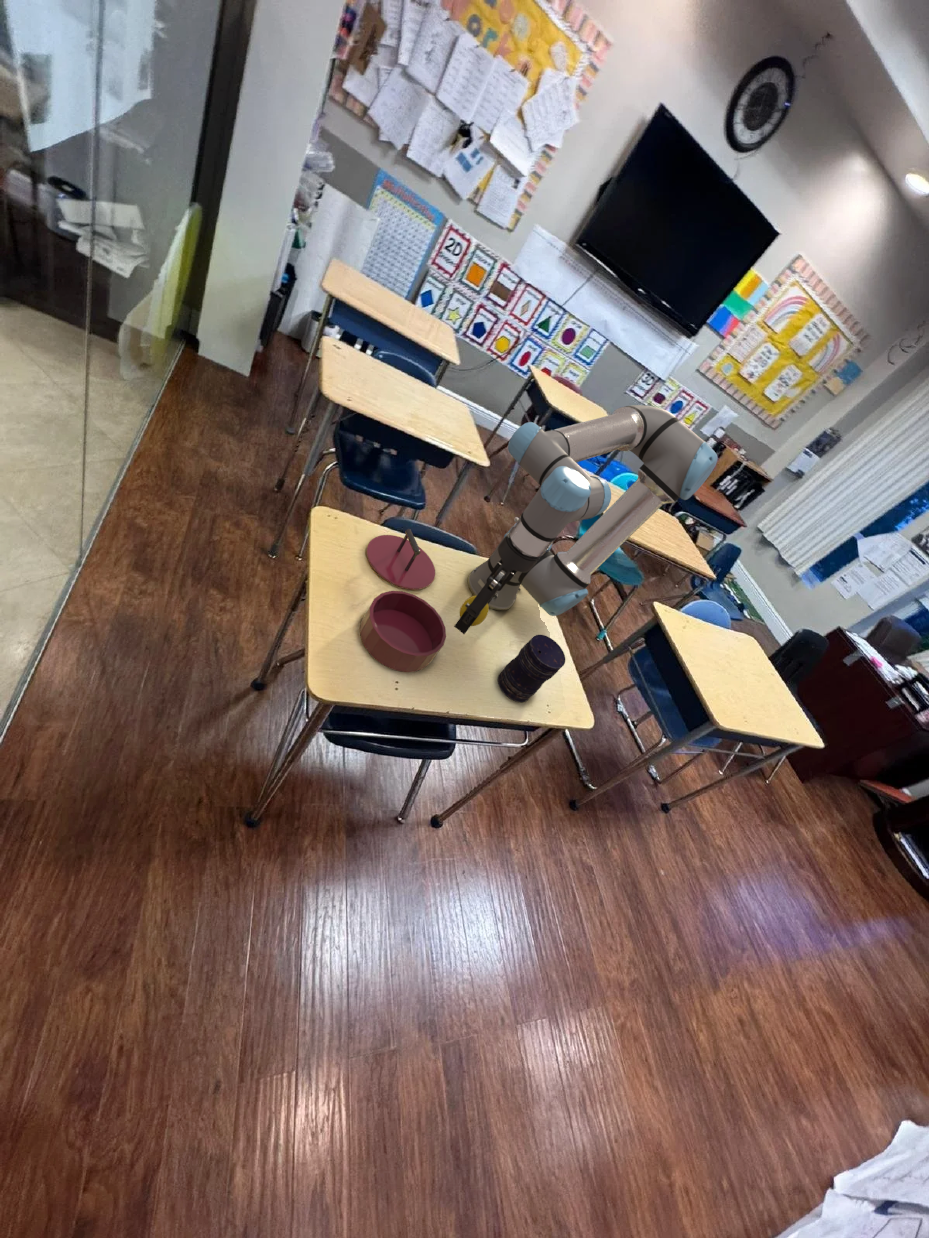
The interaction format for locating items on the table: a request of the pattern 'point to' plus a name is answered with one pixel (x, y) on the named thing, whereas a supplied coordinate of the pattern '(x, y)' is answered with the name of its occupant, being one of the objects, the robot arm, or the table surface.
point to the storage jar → (531, 668)
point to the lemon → (482, 614)
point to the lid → (401, 561)
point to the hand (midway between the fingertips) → (465, 622)
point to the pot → (402, 631)
